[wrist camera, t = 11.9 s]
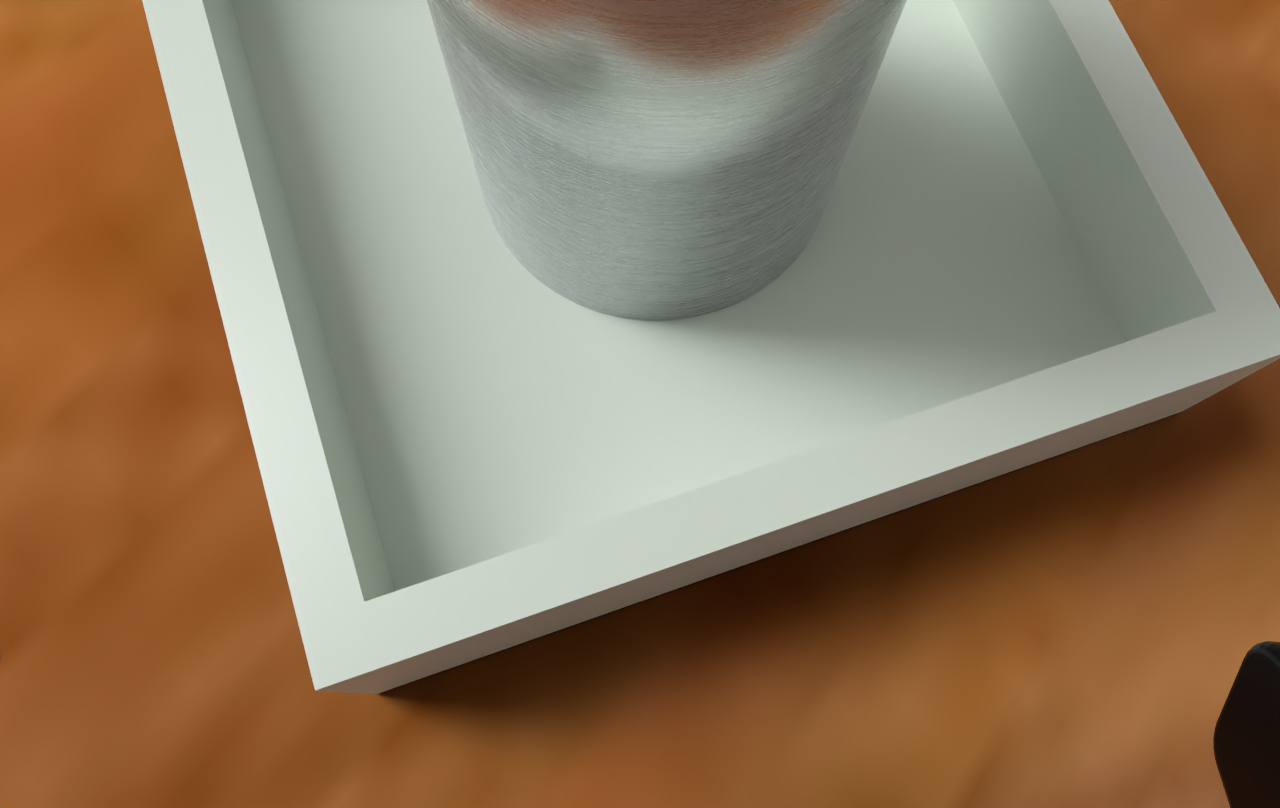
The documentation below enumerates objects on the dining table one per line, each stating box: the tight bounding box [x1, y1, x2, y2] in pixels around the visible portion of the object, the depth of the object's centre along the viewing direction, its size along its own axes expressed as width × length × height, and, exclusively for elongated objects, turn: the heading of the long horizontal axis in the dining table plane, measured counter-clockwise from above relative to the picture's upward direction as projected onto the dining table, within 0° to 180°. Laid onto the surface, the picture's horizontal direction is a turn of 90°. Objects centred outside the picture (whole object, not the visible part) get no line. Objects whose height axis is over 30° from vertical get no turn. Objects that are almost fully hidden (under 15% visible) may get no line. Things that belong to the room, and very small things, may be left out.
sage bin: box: [142, 0, 1280, 694], centre depth 16 cm, size 13×13×3 cm
